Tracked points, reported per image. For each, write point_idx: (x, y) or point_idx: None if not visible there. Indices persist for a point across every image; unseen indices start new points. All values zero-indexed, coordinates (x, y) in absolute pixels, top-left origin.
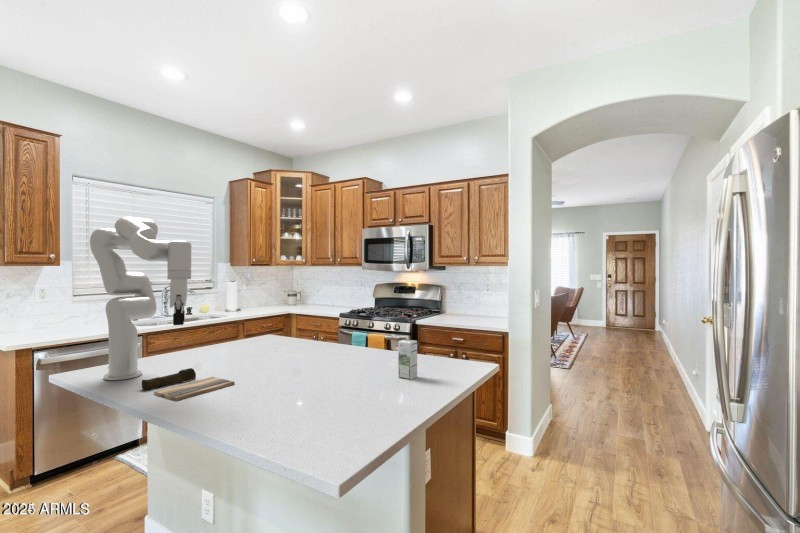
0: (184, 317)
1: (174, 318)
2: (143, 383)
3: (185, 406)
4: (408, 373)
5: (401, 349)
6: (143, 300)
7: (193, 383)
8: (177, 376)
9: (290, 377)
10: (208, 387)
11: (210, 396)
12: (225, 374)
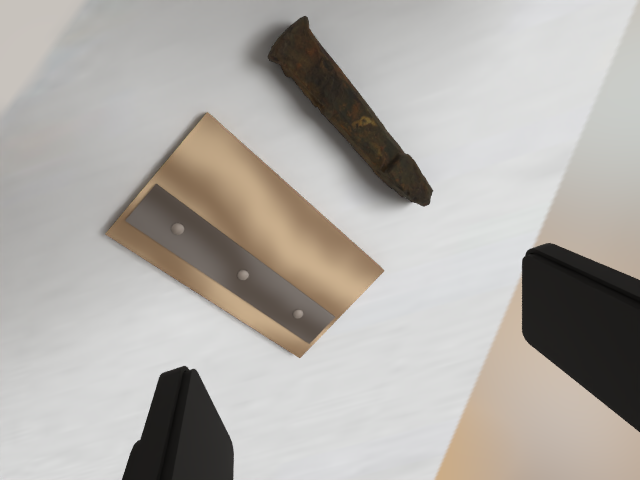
0: (566, 367)
1: (142, 471)
2: (284, 32)
3: (39, 285)
4: None
5: None
6: None
7: (304, 231)
8: (367, 157)
9: (341, 469)
10: (238, 301)
11: (161, 325)
12: (435, 287)
